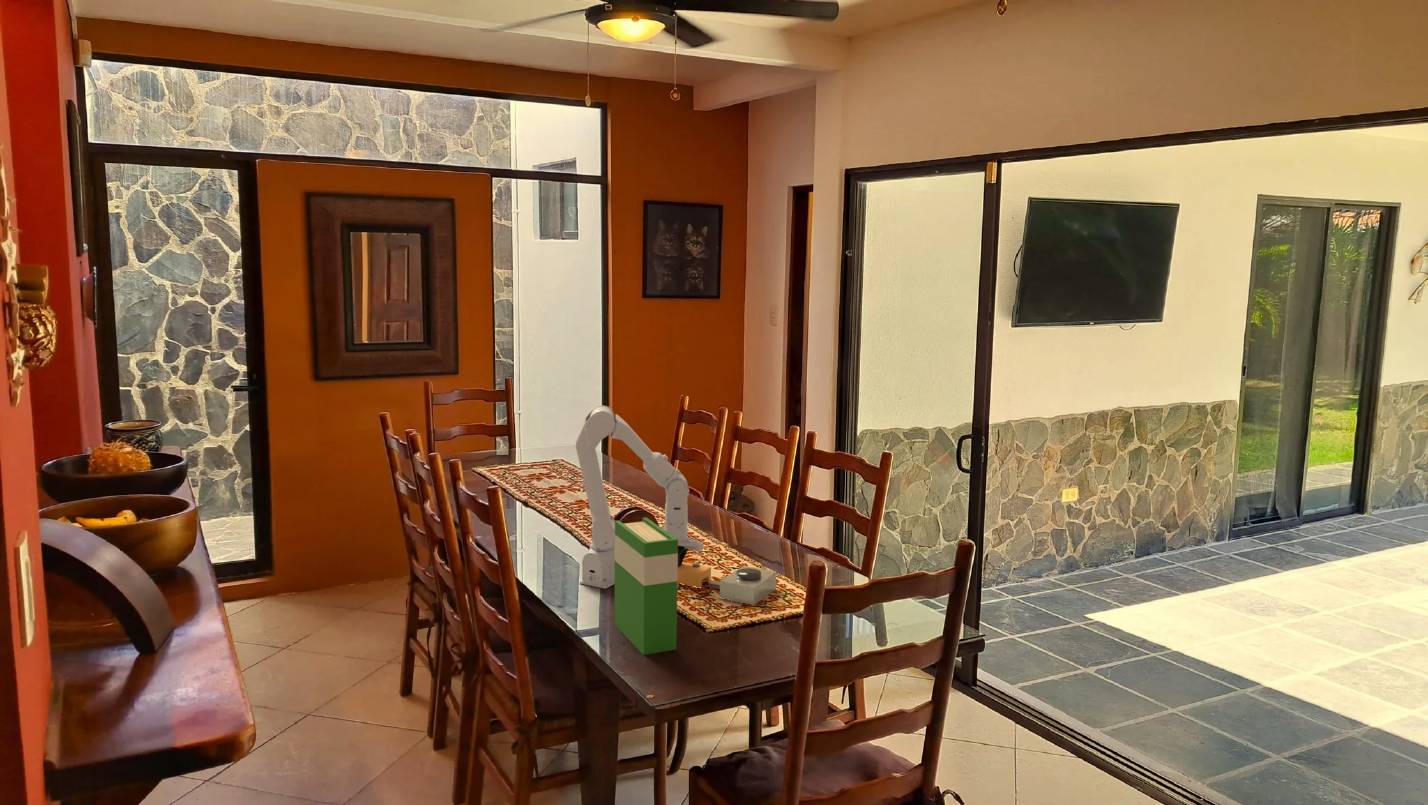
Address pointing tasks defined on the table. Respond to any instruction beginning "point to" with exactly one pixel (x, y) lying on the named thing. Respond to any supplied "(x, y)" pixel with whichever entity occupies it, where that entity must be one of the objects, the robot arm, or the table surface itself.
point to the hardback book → (646, 585)
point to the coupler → (746, 585)
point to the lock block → (693, 574)
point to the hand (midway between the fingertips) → (675, 573)
